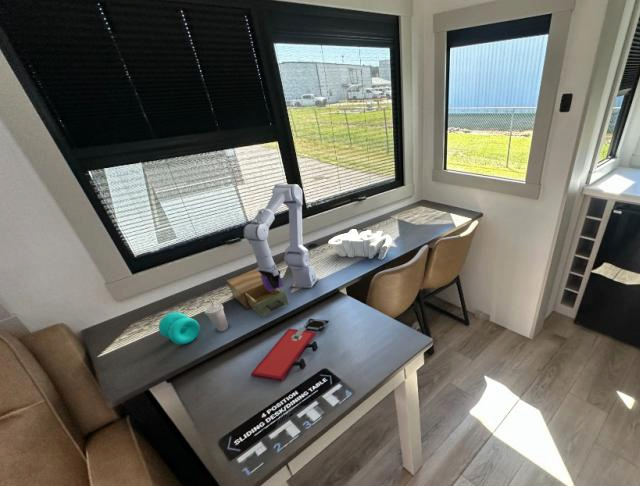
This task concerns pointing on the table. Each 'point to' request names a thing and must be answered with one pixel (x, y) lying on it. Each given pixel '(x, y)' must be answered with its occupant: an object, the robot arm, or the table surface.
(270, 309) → the drawer
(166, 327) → the turquoise spool
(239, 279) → the cabinet
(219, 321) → the smoothie
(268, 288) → the purple box
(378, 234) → the wavy white extrusion
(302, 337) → the red board with handle
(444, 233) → the table surface
